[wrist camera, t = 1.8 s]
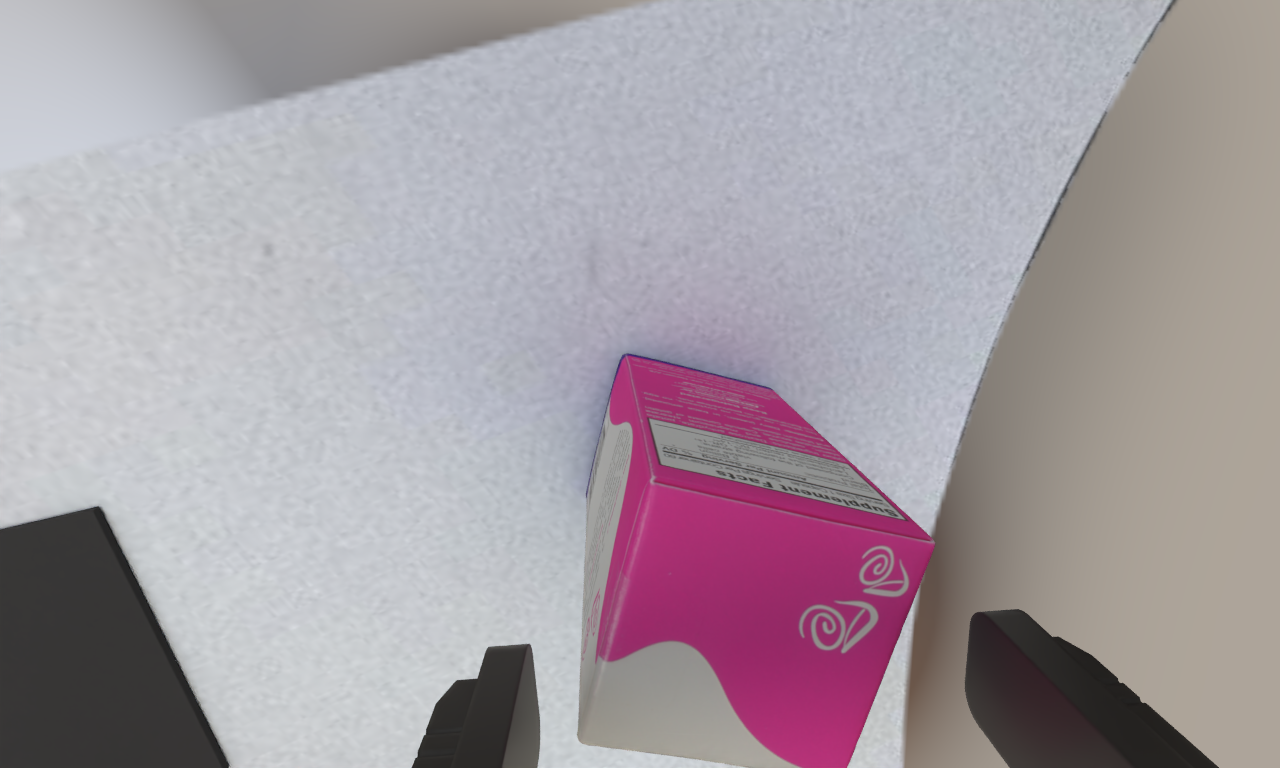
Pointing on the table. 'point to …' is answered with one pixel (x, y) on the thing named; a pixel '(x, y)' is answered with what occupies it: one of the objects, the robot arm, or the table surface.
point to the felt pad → (87, 658)
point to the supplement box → (734, 577)
